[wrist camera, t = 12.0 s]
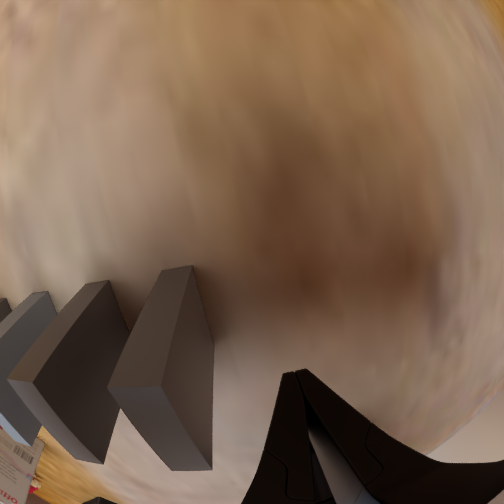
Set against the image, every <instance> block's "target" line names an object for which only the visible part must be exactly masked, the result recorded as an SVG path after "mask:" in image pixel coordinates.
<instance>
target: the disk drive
mask: <svg viewBox="0 0 504 504" xmlns="http://www.w3.org/2000/svg"><path fill="white" fill-rule="evenodd" d="M83 504H116V503H114V502H111V501H109V500H106V499H104V498H101V497H96V498H94V499H92V500H90V501H87V502H84V503H83Z"/></svg>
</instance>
